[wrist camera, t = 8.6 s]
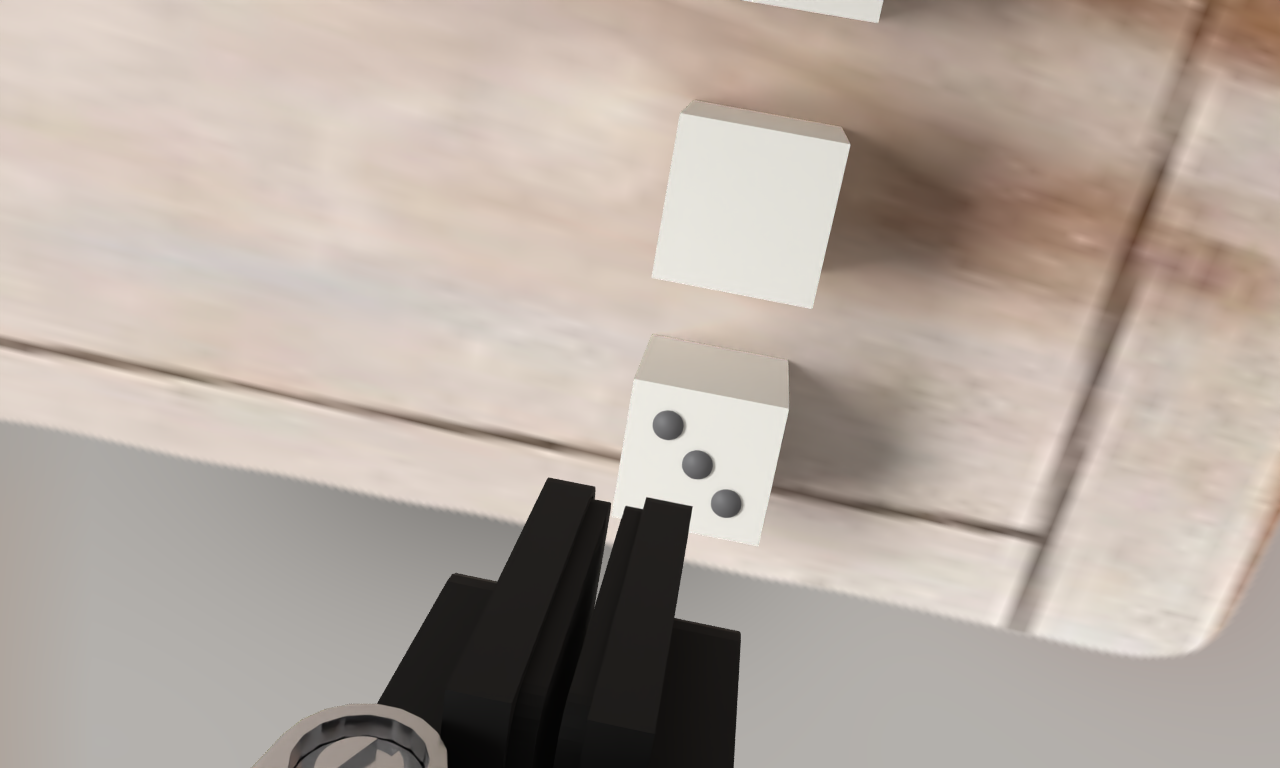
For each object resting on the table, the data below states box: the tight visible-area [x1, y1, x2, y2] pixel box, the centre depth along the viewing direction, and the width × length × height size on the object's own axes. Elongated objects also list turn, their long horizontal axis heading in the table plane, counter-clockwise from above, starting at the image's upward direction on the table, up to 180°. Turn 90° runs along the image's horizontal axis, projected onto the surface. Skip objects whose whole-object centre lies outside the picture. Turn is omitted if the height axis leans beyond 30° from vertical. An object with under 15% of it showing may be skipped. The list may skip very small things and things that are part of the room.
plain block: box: [652, 100, 851, 309], centre depth 40 cm, size 6×6×6 cm
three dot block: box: [611, 334, 789, 546], centre depth 44 cm, size 6×6×6 cm
